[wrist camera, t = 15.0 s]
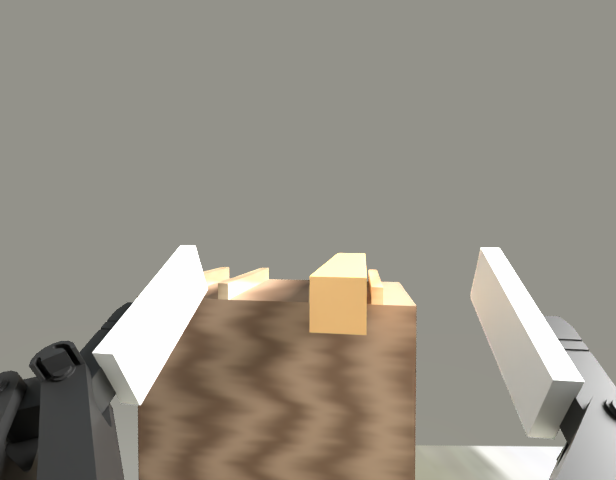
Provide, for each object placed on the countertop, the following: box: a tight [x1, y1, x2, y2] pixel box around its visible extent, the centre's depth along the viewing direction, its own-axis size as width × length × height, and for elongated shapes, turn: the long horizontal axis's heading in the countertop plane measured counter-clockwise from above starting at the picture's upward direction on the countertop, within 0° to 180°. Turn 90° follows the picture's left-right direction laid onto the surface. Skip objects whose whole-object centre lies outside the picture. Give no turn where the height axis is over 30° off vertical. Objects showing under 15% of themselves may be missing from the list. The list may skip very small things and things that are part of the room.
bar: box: [309, 253, 367, 335], centre depth 33 cm, size 4×24×4 cm, turn 171°
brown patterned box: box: [137, 267, 416, 480], centre depth 38 cm, size 26×14×32 cm, turn 81°
